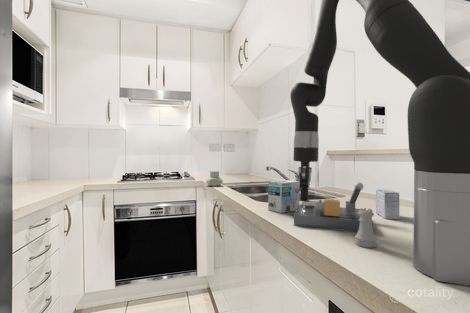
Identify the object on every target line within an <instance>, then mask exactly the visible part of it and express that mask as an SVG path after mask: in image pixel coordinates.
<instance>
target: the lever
mask: <svg viewBox="0 0 470 313" xmlns="http://www.w3.org/2000/svg"><path fill="white" fill-rule="evenodd" d="M363 189H364V184H363V183H362V182H360V181H359V182H358V181H357V182H355V183H354V189H353V192H352V194H351V196H350V199H349V203H352V204H355V205H356V203H357V200H358V198H359V195H360V193H361V191H362V190H363Z"/></svg>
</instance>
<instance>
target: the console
mask: <svg viewBox="0 0 470 313" xmlns="http://www.w3.org/2000/svg"><path fill="white" fill-rule="evenodd" d="M316 200H323V199H322V198H321V199H318V198H317V199H316ZM349 201H350V200H349ZM349 201H345V207H341V206H340V217H339V216H327V215H324V202H316V205H303V201H301V203H299V207H298V208H297V210H295V212H294V214H293V226H295V227H296V226H298V227H299V226H300V227H306V228H307V227H308V228H318V229H327V230H336V231H344V232H345V231H346V232H353V233H356V232H358V231H359V226H360V220H359V219H360V215H359V214H358V212H359V211H360V208H356V203H355V204H352V203H349ZM363 210H364V208H363ZM373 225H374V224H373V222H372V230H373V227H374V226H373Z"/></svg>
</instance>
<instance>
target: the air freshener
mask: <svg viewBox="0 0 470 313" xmlns="http://www.w3.org/2000/svg"><path fill="white" fill-rule="evenodd" d="M205 182H206V185H208V186H209V187H213V186H216V187H220V186H221V185H222V184H223V179H222V178H221V177H220V171H219V170H211V171H210V173H209V177H208V178H206V181H205Z"/></svg>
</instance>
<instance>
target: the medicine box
mask: <svg viewBox="0 0 470 313" xmlns="http://www.w3.org/2000/svg"><path fill="white" fill-rule="evenodd" d="M375 197H376V198H375V203H376V204H375V210H376V211H375V213H376V214H377V215H378V214H379V215H378V216H380V217H382V218H383V219H386V220H397V219H398V220H400V215H401V214H400V192H397V191H394V190H390V189H376V190H375Z"/></svg>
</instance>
